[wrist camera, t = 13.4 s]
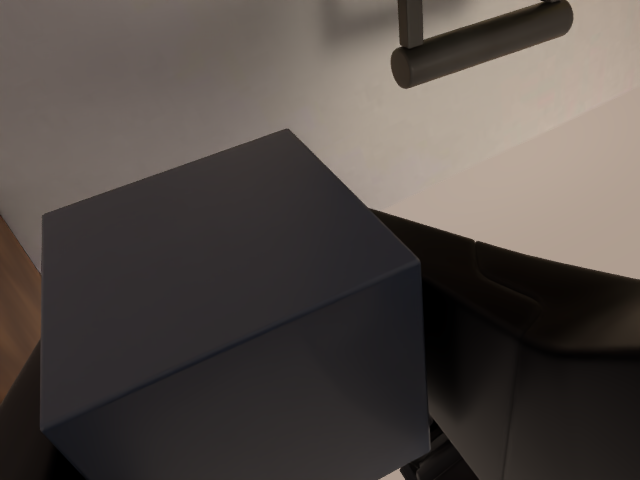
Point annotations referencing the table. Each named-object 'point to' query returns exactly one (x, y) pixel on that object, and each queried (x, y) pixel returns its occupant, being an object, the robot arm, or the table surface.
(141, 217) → the block
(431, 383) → the robot arm
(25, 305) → the stand
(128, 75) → the table surface
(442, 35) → the drawer
